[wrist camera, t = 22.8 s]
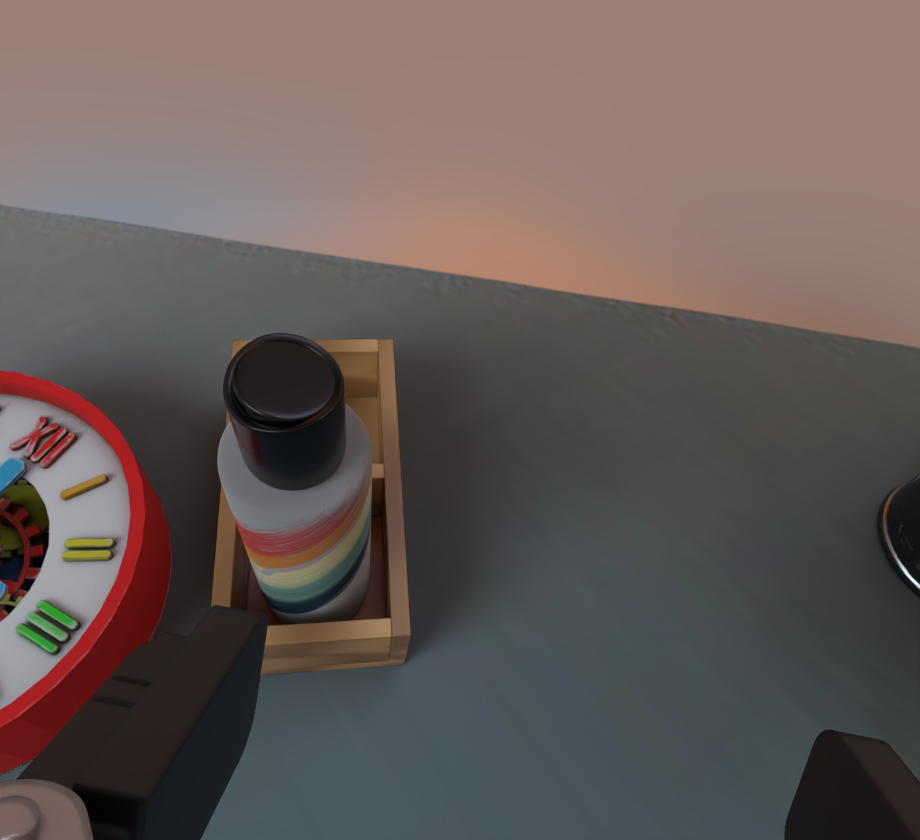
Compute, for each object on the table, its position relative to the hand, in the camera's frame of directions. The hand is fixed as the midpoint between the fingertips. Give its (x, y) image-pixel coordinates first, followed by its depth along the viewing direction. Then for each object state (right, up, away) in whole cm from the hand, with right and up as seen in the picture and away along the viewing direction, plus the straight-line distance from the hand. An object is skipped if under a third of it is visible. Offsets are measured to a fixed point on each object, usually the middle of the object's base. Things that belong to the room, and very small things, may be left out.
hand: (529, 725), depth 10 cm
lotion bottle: (-9, -5, +29) cm, 31 cm away
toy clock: (-27, -5, +28) cm, 39 cm away
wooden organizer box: (-9, -2, +32) cm, 34 cm away
